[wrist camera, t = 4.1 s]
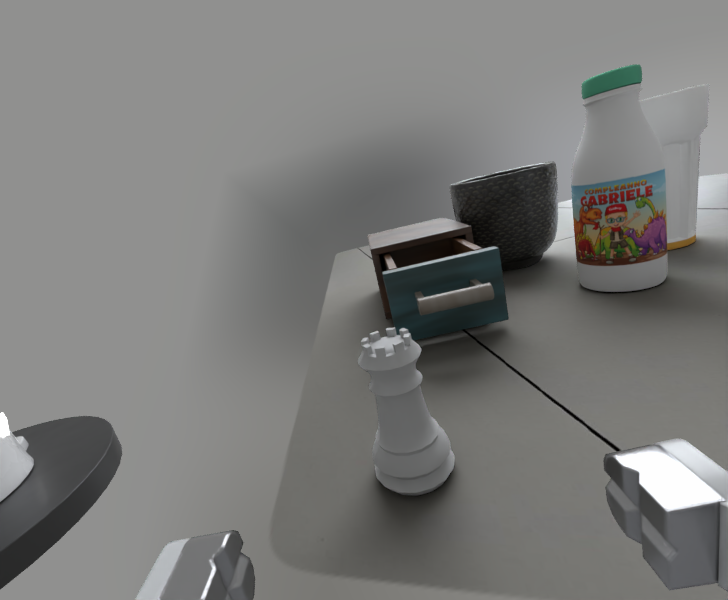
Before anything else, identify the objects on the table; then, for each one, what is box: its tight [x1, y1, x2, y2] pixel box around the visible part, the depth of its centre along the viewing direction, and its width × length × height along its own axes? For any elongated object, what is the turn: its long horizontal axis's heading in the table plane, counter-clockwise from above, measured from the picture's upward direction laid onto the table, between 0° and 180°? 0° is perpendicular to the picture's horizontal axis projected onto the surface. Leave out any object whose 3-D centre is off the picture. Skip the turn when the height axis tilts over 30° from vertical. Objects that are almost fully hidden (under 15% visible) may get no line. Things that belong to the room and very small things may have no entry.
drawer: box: [382, 236, 508, 340], centre depth 39 cm, size 18×10×7 cm, turn 2°
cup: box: [640, 84, 709, 250], centre depth 48 cm, size 11×11×17 cm
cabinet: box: [368, 218, 474, 319], centre depth 52 cm, size 15×12×9 cm
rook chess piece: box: [358, 327, 455, 496], centre depth 20 cm, size 4×4×8 cm
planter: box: [450, 162, 558, 270], centre depth 55 cm, size 14×14×13 cm
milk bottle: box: [571, 65, 667, 292], centre depth 38 cm, size 8×8×20 cm
